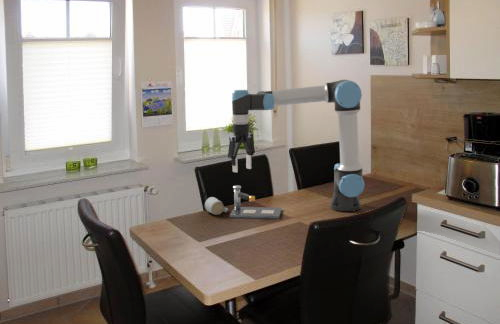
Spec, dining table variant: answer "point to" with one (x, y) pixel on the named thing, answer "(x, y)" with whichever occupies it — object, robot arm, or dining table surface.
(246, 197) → the swing arm
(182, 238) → the dining table surface
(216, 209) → the ceramic mug
